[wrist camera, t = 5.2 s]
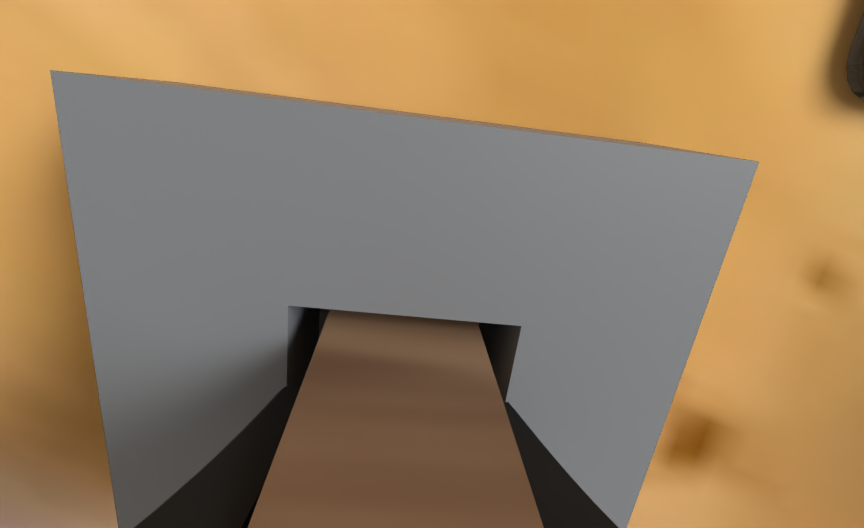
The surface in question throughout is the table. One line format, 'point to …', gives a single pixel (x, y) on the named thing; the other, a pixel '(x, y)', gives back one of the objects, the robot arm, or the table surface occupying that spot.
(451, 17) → the table surface
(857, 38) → the phone
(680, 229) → the socket block
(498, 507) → the peg
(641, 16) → the table surface
